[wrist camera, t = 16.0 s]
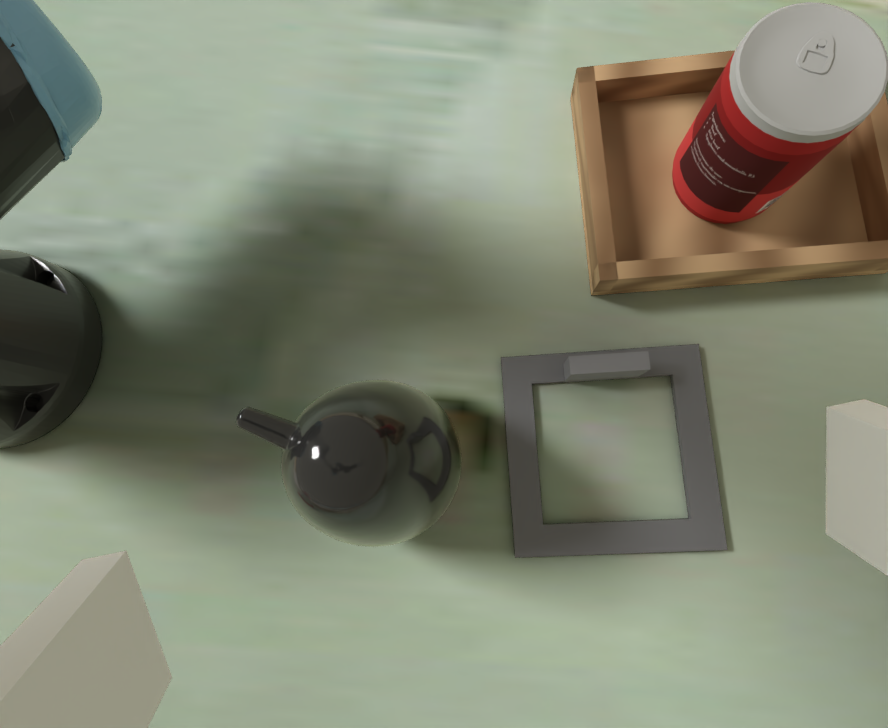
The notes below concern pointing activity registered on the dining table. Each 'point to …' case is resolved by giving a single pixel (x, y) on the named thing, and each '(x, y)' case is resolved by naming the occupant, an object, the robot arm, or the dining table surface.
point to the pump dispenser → (366, 461)
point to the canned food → (779, 109)
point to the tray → (689, 237)
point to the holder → (613, 536)
